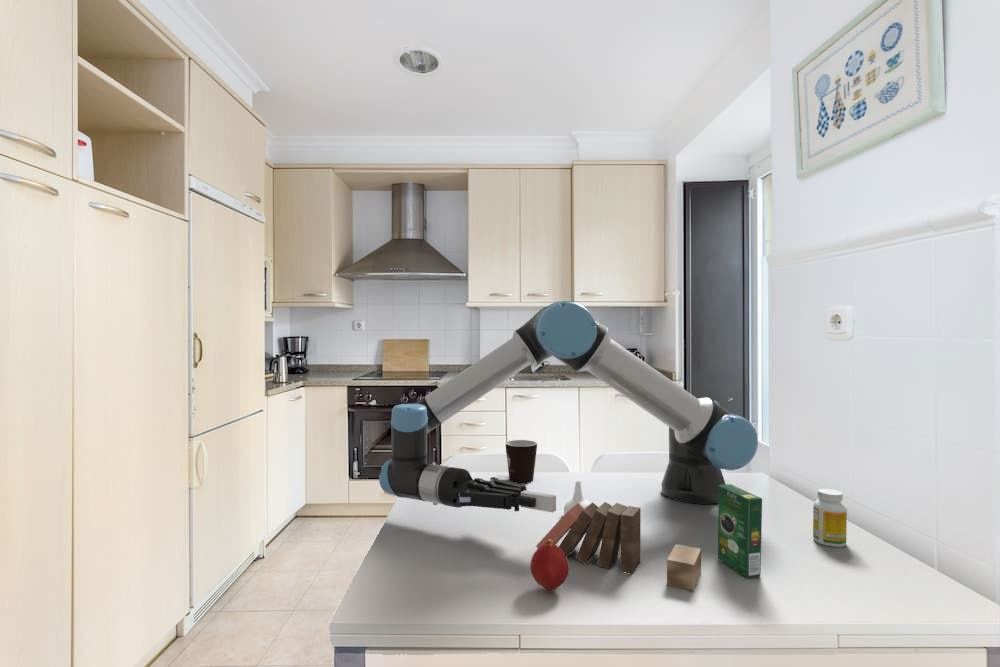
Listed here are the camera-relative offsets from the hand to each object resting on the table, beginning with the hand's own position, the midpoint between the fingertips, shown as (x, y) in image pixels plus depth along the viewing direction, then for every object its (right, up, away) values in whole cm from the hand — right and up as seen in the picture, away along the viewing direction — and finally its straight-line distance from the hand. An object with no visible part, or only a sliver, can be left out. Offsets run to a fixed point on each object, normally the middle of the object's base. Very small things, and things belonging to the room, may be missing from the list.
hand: (554, 503), depth 96 cm
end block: (+20, -9, -11) cm, 24 cm away
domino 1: (-1, -8, +1) cm, 8 cm away
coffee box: (+30, -9, -7) cm, 32 cm away
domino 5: (+12, -9, -7) cm, 16 cm away
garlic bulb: (+7, -9, +18) cm, 21 cm away
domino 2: (+2, -8, -1) cm, 8 cm away
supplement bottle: (+53, -9, +4) cm, 53 cm away
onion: (-2, -9, -15) cm, 18 cm away
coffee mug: (-4, -9, +48) cm, 49 cm away
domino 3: (+5, -8, -3) cm, 10 cm away
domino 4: (+9, -8, -5) cm, 13 cm away
